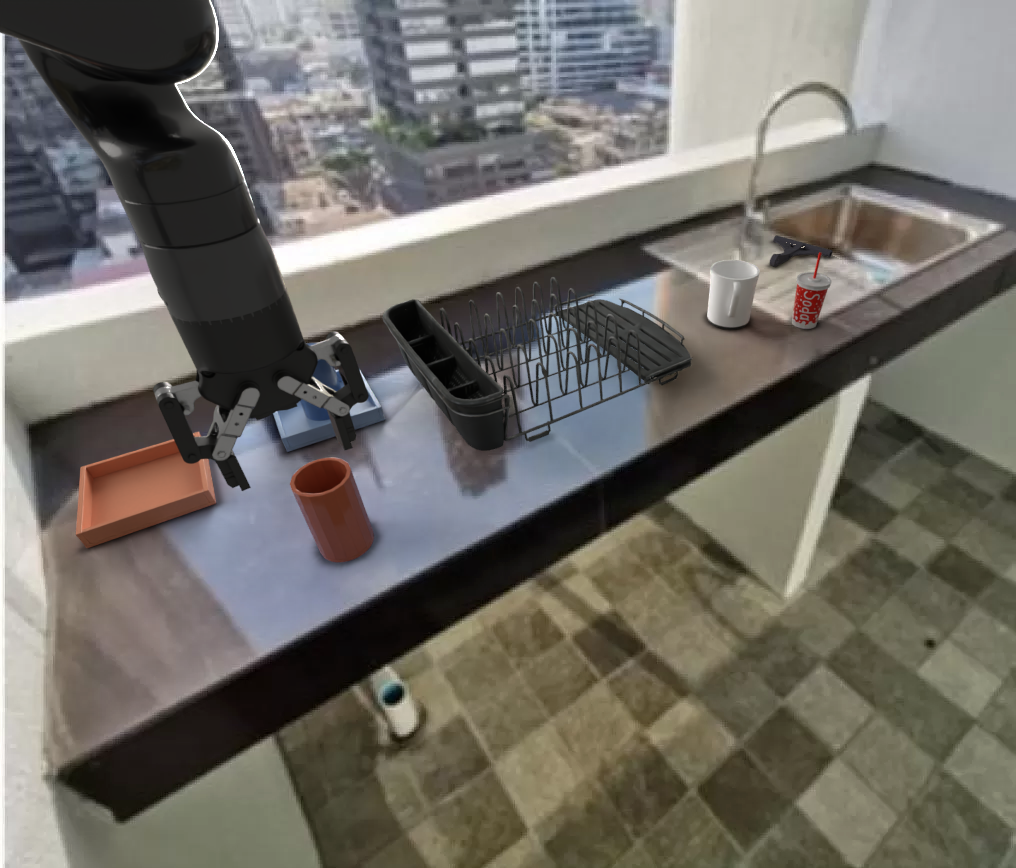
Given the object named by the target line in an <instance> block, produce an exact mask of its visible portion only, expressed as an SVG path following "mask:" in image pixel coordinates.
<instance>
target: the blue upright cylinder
mask: <svg viewBox="0 0 1016 868" xmlns="http://www.w3.org/2000/svg"><path fill="white" fill-rule="evenodd" d="M317 343H318V342H309V343H308V342H307V343H306V344H308V345H309V346H311V345H314V344H317ZM335 367H336V366H335ZM335 367H333V366H330V365H329V364H328V363H327V361H326V360H323V359H319V360H318V364H317V366H316V369H315V371H314V374H313V376H312V377H314V378H316V379H317V380H318V381H320V382H321V383H322V384H324V385H326V386H328V387H329V388H331V389H333V390H335V391H338V390H339V389H341V385H340V382H339V379H338V376H337V373H336V370H337V369H336V368H335ZM300 403H301V406H302V408H303V411H304V414H305V416H306V417H307V418H308V419H311V420H314V421H323V420H328V419H330V417H329V415H328V412H327V410H326V409H324V408H319V407H317V406H315V405H313V404H311V403H309V402H307V401H305V400H303V399H302V400H301V401H300Z"/></svg>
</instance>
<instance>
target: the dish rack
mask: <svg viewBox="0 0 1016 868" xmlns="http://www.w3.org/2000/svg"><path fill="white" fill-rule="evenodd" d="M549 281H550V283H549V284H550V290H549V291H550V296H549V314H548V315H546V309H545V302H544V294H543V289H542V286H541V284H540V283H539V282H538V281H534V282H533V283H532V284H533V285H532V300H531V318H529V319H528V314H527V307H526V306H527V305H526V301H525V294H524V291H523V289H522V288H521V287H520V286H516V287H515V288H514V289H515V290H514V295H515V296H514V297H515V298H514V299H515V302H514V303H515V304H514V305H512V308H511V310H512V311H511V314H512V326H510V323H509V317H508V311H507V305H506V300H505V297H504V295H503V294H502V293H501V292H500V291H499V292H496V295H495V298H496V299H495V300H496V301H495V302H496V315H497V316H496V317H497V329H498V330H497V331H495V327H494V323H493V320H492V318H491V316H490V315H489V314H488V313H485V314H484V316H483V319H484V321H483V322H484V334H483V331H482V325H481V321H480V317H479V311H478V307H477V304H476V302H475V301H474V300H473V299H470V300H469V301H468V309H469V318H470V328H471V336H472V338H468V339H467V340H465V337H464V332H463V330H462V327H461V325H460V324H459V323H458V322H454V324H453V330H454V336H455V338H454V337H453V332H452V328H451V324H450V319H449V316H448V313H447V311H446V309H444V307H440V308H439V316H440V323H441V324H440V323H439V321H438V320H436V319H435V317H434V316H433V315H432V314H431V313H430V311H428V309H426V307H425V306H424V305H423V304H422V301H421V300H419V299H417V298H416V299H414V298H412V299H409V300H405V301H402V302H399V303H395V304H394V305H392V306H390V307H389V308H387V309H386V310H385V311H384V312H383V315H382V321H383V323H384V324H385V326H386V327H387V328H388V330H389V332H390V334H391V335H392V336H393V338H394V339H395V340H396V344H397V346H398V349H399V351H400V353H401V356H402V358H403V360H404V362H405V365H406V366H407V367H408V369H409V370H410V372H411V373H412V375H413V376H414V377H415V378H416V380H417V381H418V382H419V383H420V385H421V387H423V389H424V390H425V391H426V393H427V394H428V396H430V398H431V399H432V400H433V401H434V403H435V405H436V406H437V407H438V408H439V409H440V411H441V412H442V413H443V415H444V416H445V418H446V419H447V420H448V422H450V424H451V425H452V426H453V427H454V428H455V430H456V432H457V433H458V434H459V435H460V437H461V438H462V439H463V440H464V442H465V443H466V444H467V445H468V447H469V446H470V448H472V449H474V450H476V451H482V452H488V451H494V450H497V449H500V448H502V447H504V442H509V441H511V440H514V439H517V438H519V437H522V436H524V439H525V441H526V442H529V443H532V442H533V441H537V440H539V439H542V438H544V437H546V436H550V432H551V431H552V428H551V425H552V424H555V423H558V422H560V421H562V420H565V419H567V418H570V417H572V416H575V415H577V414H579V413H582V412H585V411H586V410H589V409H591V408H594V407H596V406H599V405H601V404H603V403H606V402H608V401H610V400H613V399H616V398H618V397H621V396H623V395H625V394H627V393H629V392H632V391H634V390H636V389H640V388H642V387H644V386H646V385H650V384H651V383H654V382H656V381H658V385H659V386H665V385H668V384H669V383H671V382H673V381H676V380H677V379H678V377H679V372H682V371H683V370H686V369H687V368H690V367H692V361H693V356H691V354H690V352H689V350H688V349H687V348H686V346H685V345H684V340H685V336H684V335H683V334H682V333H680V332H679V331H678V330H676V329H675V328H674V327H672V326H671V325H670V324H668V323H667V322H665V321H664V320H662V319H661V318H659V317H658V316H656V315H655V314H653V313H651V312H649V311H648V310H646V309H644V308H642V307H641V306H638V305H637V304H634V303H632V302H630V301H628V300H626V299H623V298H621V297H619V298H618V300H620V302H621V303H620V305H619V304H617V303H614V302H612V301H610V300H606V299H600V298H598V299H594V300H587V301H586V302H584V303H581V304H579V301H582V300H585V299H588V298H592V297H594V296H595V295H596V294H595V293H590V294H587V295H584V296H579V297H578V293H577V292H576V290H575V289H574V288H572V287H570V288H569V289H568V292H567V300H566V301H563V302H562V298H561V297H562V296H561V290H560V283H559V280H558V279H557V278H556V277H555V276H552V277H551V278H550V280H549ZM554 282H555V284H556V286H557V295H556V294H555V293H554ZM536 285H537V288H538V289H539V293H540V303H539V301H538V300H537V299H536ZM518 291H519V293H520V294H521V300H522V309H523V315H524V321H525V322H523V318H522V313H521V309H520V308H519V305H518ZM571 292H572V293H573V295H574V298H573V299H571ZM499 297H500V299H501V301H502V306H503V310H504V316H505V318H504V319H505V323H506V327H505V328H501V315H500V301H499V300H500V299H499ZM554 299H555V302H556V304H555V305H554ZM574 302H575V305H574V306H571V303H574ZM624 304H627V305H629V306H631V307H632V308H634V309H636V310H638V311H640V312H641V313H642V314H640V313H638V312H637V311H635V310H632V309H631V308H629V307H626V306H624ZM472 305H473V307H472ZM565 305H566V306H567V307H566V308H563V306H565ZM536 307H537V310H538V318H537V316H536V315H537V314H536V311H537V310H536ZM472 308H474V311H475V316H476V322H477V326H478V327H477V328H478V331H479V336H478V337H477V336H476V337H475V326H474V317H473V309H472ZM554 312H555V313H554ZM645 314H646V315H647V316H649V317H650V318H652V319H654V320H656V321H657V322H658V323H660V324H661V326H660V325H659V324H657V323H656V322H654V321H653V320H651V319H649V317H646V316H645ZM542 315H543V316H542ZM444 318H445V320H444ZM487 319H488V320H489V323H490V330H491V332H490V333H488V320H487ZM547 319H548V320H547ZM553 319H554V320H555V325H556V326H555V327H556V332H553V329H552V328H553V327H552V325H553V323H552V322H553ZM547 321H548V323H547ZM445 322H446V328H447V329H446V328H445ZM537 322H539V326H540V330H539V327H538V324H537ZM543 322H544V323H543ZM543 324H544V325H543ZM524 326H526V332H527V338H528V341H526V339H525V333H524V331H525V330H524ZM570 326H571V327H570ZM519 328H520V333H521V340H522V343H521V342H520V343H518V344H516V329H519ZM665 328H666V329H668V330H670V331H671V332H672V333H674V334H675V335H676V336H678V337H679V338H681V339H680V340H679V339H677V338H676V337H675V336H674V335H673V334H671V333H670V332H669V331H667V330H666V329H665ZM544 329H545V333H546V335H545V333H544ZM511 330H512V334H511ZM458 331H459V334H458ZM539 331H540V332H539ZM552 332H553V333H552ZM564 332H566V334H565V335H566V336H565V341H564ZM571 332H573V334H574V337H575V344H573V345H570V343H571V341H570V339H571ZM535 333H536V338H535ZM497 334H498V335H499V350H498V345H497V340H496V335H497ZM503 335H504V337H505V339H506V345H507V347H506V348H504V344H503ZM540 335H541V336H540ZM555 335H557V339H556V338H555ZM582 335H583V337H582ZM459 336H460V340H461V341H459ZM489 337H492V340H493V348H494V351H493V352H490V349H489ZM545 338H546V340H545ZM484 339H485V341H484ZM551 340H552V341H553V343H554V347H555V351H553V352H551ZM476 341H480V342H481V346H482V351H483V354H484V355H480V354H479V349H478V346H477V344H476ZM536 341H537V347H538V356H537V357H534V358H532V343H533V342H536ZM541 342H542V344H541ZM590 342H593V343H590ZM589 343H590V344H589ZM466 344H468V347H467V346H466ZM526 344H528V352H527V345H526ZM584 344H585V350H584V359H583V353H582V345H584ZM595 344H596V345H595ZM542 347H543V352H542ZM574 347H576V354H577V355H576V354H575V353H574V352H573V351H571V350H570V349H571V348H574ZM592 347H593V349H594V350H595V353H596V357H594V358H593V359H591V350H592V349H591V348H592ZM473 348H474V352H475V356H476V357H475V358H474V354H473ZM515 348H516V362H517V364H514V361H513V354H512V349H515ZM600 348H601V349H602V352H601V349H600ZM520 350H521V351H522V353H523V355H524V360H525V361H523V362H521V358H520V357H521V356H520V355H521V354H520ZM505 351H507V352H508V357H509V364H510V366H508V367H505V365H504V364H505V363H504V352H505ZM564 351H566V355H565V363H564V359H563V358H564V357H563V352H564ZM499 353H500V356H499ZM543 353H544V354H543ZM492 355H495V359H496V364H497V368H498V370H496V367H495V363H494V361H493V359H492V357H490V356H492ZM552 355H555V358H556V366H557V367H556V368H557V371H556V372H553V373H551V374H550V373H549V372H550V368H549V365H550V356H552ZM570 356H572V358H573V360H574V365H572V366H570ZM610 356H611V357H612V358H614V359H615V360H616V367H617V370H618V371H617V372H618V373H614V374H613V375H610V376H607V375H608V367H609V361H610V360H609V359H610ZM499 357H500V358H499ZM545 357H546V363H545V365H544V359H543V358H545ZM602 358H605V365H604V373H603V375H602V369H601V368H602V367H601V359H602ZM481 359H484V368H485V369H484V368H483V367H482V361H481ZM537 360H539V361H537ZM534 361H537V362H536V364H535V379H534V380H532V378H531V370H530V364H529V363H531V362H534ZM594 361H596V362H597V374H598V375H597V377H598V380H597V381H593V382H592V383H589V382H588V381H589V370H590V363H592V362H594ZM489 363H490V368H491V370H492V372H490V371H489ZM564 364H565V365H564ZM522 365H525V367H526V375H527V380H528V381H527V382H526V383H524V384H521V366H522ZM583 365H586V367H585V376H584V383H583V375H582V366H583ZM504 367H505V368H504ZM516 367H517V370H516V371H517V378H516V372H515V368H516ZM561 368H562V369H561ZM574 368H575V372H576V382H577V388H576V389H574V390H570V391H568V390H569V370H572V369H574ZM510 369H511V374H512V378H511V377H510V375H509V374H506V373H505V374H503V375H502V382H503V387H502V386H501V385H500V384H499V382H498V377H497V374H498V373H501V372H504V371H507V370H510ZM539 369H540V370H539ZM539 371H541V374H542V377H539V376H540V373H539ZM630 371H631V372H632V374H634V375H636V376H637V379H638V384H637V385H635V386H632V387H630V388H627V389H625V390H623V376H622V374H624V373H627V372H630ZM489 372H490V373H489ZM564 372H565V378H564V379H565V380H564V389H563V381H562V373H564ZM673 374H675V375H674V376H673V377H670V378H668V379H666V380H664V381H662V380H663V379H665V378H666V377H668V376H672V375H673ZM555 375H558V383H559V390H560V393H561V395H558V396H555V397H552V398H551V393H550V385H549V378H550V377H553V376H555ZM492 376H493V377H492ZM614 377H617V378H618V387H619V392H618V393H615V394H612V395H610V396H607V397H606V398H604V397H603V396H604V394H603V393H604V392H603V382H604V381H607V380H609V379H612V378H614ZM543 380H544V384H545V389H546V391H545V392H546V399H547V400H545V401H542V402H540V400H539V399H540V398H539V397H540V396H539V395H540V394H539V393H540V389H539V388H540V384H539V383H540V381H543ZM507 381H508V383H509V389H508V385H507ZM642 381H643V382H642ZM534 383H535V398H534V392H533V385H532V384H534ZM588 383H589V384H588ZM596 384H598V388H599V399H600V400H598V401H595V402H592V403H591V404H588V405H586V406H584V405H583V394H582V390H583V389H586V388H588V387H591V386H594V385H596ZM526 386H528V388H529V394H530V401H531V404H532V405H531V406H529V407H526V408H523V409H521V410H519V408H518V402H517V395H516V390H517V389H520V388H524V387H526ZM509 392H511V395H509V394H508V393H509ZM576 392H578V394H577V395H578V402H579V407H580V408H578V409H576V410H574V411H571V412H568V413H566V414H563V415H561V416H559V417H557V418H554V415H553V406H552V402H553V401H555V400H559V399H562V398H563V397H566V396H568V395H571V394H573V393H576ZM510 396H511V397H510ZM511 398H512V402H513V407H514V412H513V413H511V414H510V409H511V404H510V401H511ZM503 401H504V402H503ZM503 403H504V405H503ZM545 404H547V405H548V411H549V412H548V413H549V420H547V421H546V422H544V423H542V424H538V425H535V426H533V427H531V428H528V429H526V430H522V426H521V419H520V414H522V413H525V412H527V411H530V410H533V409H534V408H537V407H541V406H543V405H545ZM513 417H515V418H516V425H517V428H518V429H517V430H518V432H517V433H516V434H513V435H511V436H508V426H509V418H513ZM545 427H547V429H548V430H543V431H541V432H540V433H537V434H533V435H531V436H528V435H527V434H529V433H532V432H534V431H537V430H540V429H542V428H545Z"/></svg>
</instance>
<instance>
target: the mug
mask: <svg viewBox="0 0 1016 868" xmlns="http://www.w3.org/2000/svg"><path fill="white" fill-rule="evenodd" d="M760 271H761V270H760V268H759V266H757V265H756V264H754V263H752V262H750V261H747V260H742V259H722V260H718V261H715V262H713V263H712V264H711V265H710V270H709V291H708V294H709V295H708V304H707V311H706V312H707V315H706V319H707V321H708V323H709V324H710V325H711V326H713V327H716V328H718V329H722V330H728V331H731V330H732V331H733V330H735V331H736V330H741V329H743V328H745V327H746V326H747V325H748V324H749V323H750V320H751V319H750V318H751V313H752V309H753V303H754V298H755V294H756V288H757V284H758V281H759V277H760V273H761V272H760Z"/></svg>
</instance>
